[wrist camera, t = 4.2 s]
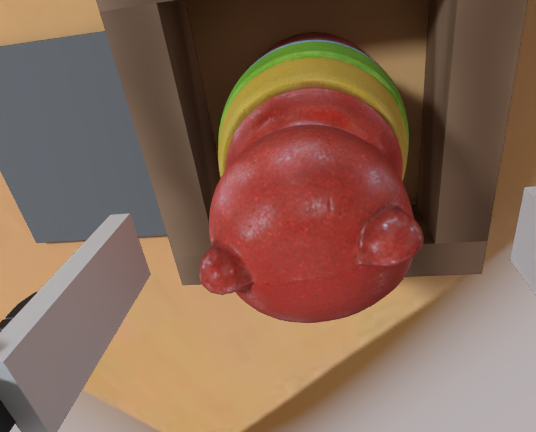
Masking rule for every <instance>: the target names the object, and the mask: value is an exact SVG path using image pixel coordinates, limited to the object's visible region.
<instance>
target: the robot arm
mask: <svg viewBox="0 0 536 432" xmlns="http://www.w3.org/2000/svg"><path fill="white" fill-rule="evenodd" d="M510 261H511V262H512V263H513V265H514V266H515V267H516V269H517V270H518V271H519V272H520V274H521V276H522V277H523V278H524V280H525V281H526V282H527V284H528V285H529V286H530V288H531V289H532V291H533V292H534V293H535V295H536V186H534V187H525V188H524V193H523V198H522V203H521V208H520V213H519V218H518V223H517V228H516V233H515V238H514V243H513V248H512V253H511V258H510ZM150 275H151V274H150V271H149V268H148V265H147V262H146V259H145V256H144V253H143V250H142V247H141V245H140V242H139V239H138V236H137V233H136V230H135V227H134V224H133V221H132V218H131V215H130V213H128V214H113V215H110V216H109V217H108V218H107V219H106V220H105V221H104V222H103V223H102V224H101V225H100V226H99V227H98V228H97V230H96V231H95V232H94V233H93V234H92V235H91V236H90V237H89V238H88V239H87V240H86V241H85V242H84V243H83V244H82V246H81V247H80V248H79V249H78V250H77V251H76V252H75V253H74V254H73V255H72V256H71V257H70V258H69V259H68V260H67V261H66V263H65V264H64V265H63V266H62V267H61V268H60V269H59V270H58V271H57V272H56V273H55V274H54V275H53V276H52V277H51V279H50V280H49V281H48V282H47V283H46V284H45V285H44V286H43V287H42V288H41V289H40V290H39V291H38V292H35V293H33V294H32V295H31V296H29V297H28V298H26V299H25V300H23V301H22V302H20V303H19V304H18V305H17V306H16V307H15V308H14V309H13V310H12V311H11V312H10V313H9V314H8V315H7V316H6V319H5V320H2V321H1V322H0V432H9V431H10V430H11V428H12V427H13V426H14V424H16V425H17V427H18V428H19V429H20V431H21V432H57V431H58V429H59V428H60V426H61V424H62V423H63V421H64V419H65V418H66V416H67V414H68V413H69V411H70V409H71V407H72V406H73V404H74V402H75V401H76V399H77V397H78V395H79V394H80V392H81V391H82V389H83V387H84V386H85V384H86V382H87V381H88V379H89V377H90V375H91V374H92V372H93V370H94V369H95V367H96V365H97V364H98V362H99V360H100V359H101V357H102V355H103V354H104V352H105V350H106V349H107V347H108V345H109V344H110V342H111V340H112V338H113V337H114V335H115V333H116V332H117V330H118V328H119V327H120V325H121V323H122V322H123V320H124V318H125V317H126V315H127V313H128V312H129V310H130V308H131V307H132V305H133V303H134V301H135V300H136V298H137V296H138V295H139V293H140V291H141V290H142V288H143V286H144V285H145V283H146V281H147V280H148V278H149V276H150Z"/></svg>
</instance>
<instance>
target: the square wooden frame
mask: <svg viewBox="0 0 536 432" xmlns="http://www.w3.org/2000/svg"><path fill="white" fill-rule="evenodd" d="M96 1H97V5H98V8H99V11H100V15H101V18H102V21H103V24H104V28H105V31H106V34H107V38H108V41H109V44H110V48H111V51H112V54H113V57H114V61H115V64H116V67H117V71H118V74H119V77H120V81H121V84H122V87H123V90H124V94H125V97H126V100H127V104H128V107H129V110H130V114H131V117H132V120H133V123H134V127H135V130H136V133H137V137H138V140H139V143H140V147H141V150H142V153H143V156H144V160H145V163H146V166H147V170H148V173H149V176H150V180H151V183H152V186H153V189H154V193H155V196H156V199H157V203H158V206H159V209H160V213H161V216H162V219H163V222H164V226H165V229H166V232H167V236H168V239H169V242H170V246H171V249H172V252H173V255H174V259H175V262H176V265H177V269H178V272H179V275H180V279H181V282H182V285H200V284H202V283H201V281H200V263H201V261H202V258H203V256H204V254H205V253H206V252H207V251H208V250H209V249H210V248H211V246H212V245H211V241H210V235H209V215H210V207H211V202H212V198H213V195H214V192H215V189H216V186H217V184H218V182H219V180H220V178H221V177H220V172H219V164H218V157H217V152H216V147H215V142H214V137H213V132H212V127H211V122H210V118H209V113H208V108H207V103H206V98H205V93H204V88H203V84H202V79H201V74H200V69H199V64H198V59H197V54H196V50H195V45H194V40H193V35H192V30H191V25H190V20H189V15H188V11H187V6H186V1H185V0H96ZM527 2H528V0H429V16H428V33H427V49H426V66H425V82H424V98H423V115H422V131H421V148H420V164H419V180H418V197H417V205H413V206H411V208H412V212H413V216H414V220H416V221H417V223H418V224H419V226H420V227H421V228H422V232H423V237H424V240H423V246H422V248H421V249H420V250H419V252H418V253H417V254H416V255H415V256H414V257H413V259H412V262H411V265H410V267H409V269H408V271H407V273H406V274H405V276H404V277H410V276H437V275H463V274H482V269H483V263H484V257H485V251H486V245H487V240H488V234H489V228H490V222H491V216H492V210H493V204H494V198H495V192H496V186H497V180H498V174H499V168H500V162H501V156H502V150H503V145H504V139H505V133H506V127H507V121H508V115H509V109H510V103H511V97H512V91H513V85H514V79H515V73H516V67H517V61H518V55H519V50H520V44H521V38H522V32H523V26H524V20H525V14H526V8H527Z"/></svg>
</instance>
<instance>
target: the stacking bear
mask: <svg viewBox="0 0 536 432" xmlns="http://www.w3.org/2000/svg"><path fill="white" fill-rule="evenodd" d="M408 149H409V129H408V121H407V116H406V111H405V107H404V104H403V101H402V99H401V96H400V94H399V92H398V90H397V88H396V86H395V84H394V83H393V81H392V80H391V79H390V77H389V76H388V75H387V73H386V72H385V71H384V70H383V69H382V68H381V67H380V66H379V65H378V64H377V63H376V62H375V61H373V60H372V59H371V58H370V57H368V56H367V55H366V54H364V52H363V51H361V50H360V49H359V48H358V47H357V46H356V45H354V44H353V43H351V42H349V41H347V40H346V39H343V38H341V37H338V36H335V35H331V34H326V33H305V34H301V35H296V36H293V37H290V38H288V39H285V40H283V41H281V42H280V43H278V44H276V45H275V46H273V47H272V48H270V49H269V50H268V51H267V52H266V53H265V54H264V55H263V56H262V57H261V58H260V59H258V60H257V61H256V62H255V63H254V64H253V65H251V66H250V67H249V68H248V70H247V71H246V72H245V73H244V74H243V75H242V76H241V78H240V79H239V80H238V82H237V83H236V85H235V86H234V88H233V90H232V91H231V93H230V95H229V98H228V100H227V102H226V105H225V108H224V111H223V114H222V118H221V122H220V127H219V137H218V164H219V172H220V177H221V178H220V180H219V182H218V184H217V186H216V189H215V192H214V195H213V198H212V202H211V207H210V215H209V235H210V241H211V245H212V246H211V248H210V249H209V250H208V251H207V252H206V253H205V254H204V256H203V258H202V261H201V263H200V281H201V283H202V285H203V286H204V287H205V288H206V289H207V290H208V291H210V292H212V293H215V294H221V295H223V294H227V293H233V292H236V293H237V295H238V296H239V297H240V298H241V299H242V300H244V301H245V302H246V303H247V304H249V305H250V306H251V307H253V308H254V309H256V310H258V311H259V312H261V313H263V314H265V315H268V316H271V317H274V318H276V319H279V320H284V321H289V322H301V323H316V322H323V321H330V320H335V319H340V318H344V317H347V316H350V315H353V314H356V313H358V312H360V311H362V310H364V309H366V308H368V307H370V306H372V305H374V304H375V303H377V302H378V301H379V300H381V299H382V298H384V297H385V296H386V295H388V294H389V293H390V292H391V291H392V290H393V289H395V288H396V287H397V285H398V284H399V283H400V282H401V281H402V280H403V278H404V276H405V274H406V273H407V271H408V269H409V267H410V265H411V262H412V259H413V257H414V256H415V255H416V254H417V253H418V252H419V250H420V249H421V248H422V246H423V240H424V237H423V232H422V228H421V227H420V226H419V224H418V223H417V221H416V220H414V216H413V212H412V208H411V204H410V201H409V197H408V195H407V192H406V190H405V187H404V185H403V178H404V175H405V170H406V164H407V156H408Z"/></svg>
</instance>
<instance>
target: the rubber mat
mask: <svg viewBox="0 0 536 432" xmlns="http://www.w3.org/2000/svg"><path fill="white" fill-rule="evenodd" d="M0 171H1V173H2V175H3V177H4V179H5V181H6V183H7V185H8V187H9V189H10V191H11V193H12V195H13V197H14V199H15V201H16V203H17V205H18V207H19V209H20V211H21V213H22V215H23V217H24V219H25V221H26V223H27V225H28V227H29V229H30V231H31V233H32V235H33V237H34V239H35V241H36V243H44V242H61V241H78V240H87V239H88V238H89V237H90V236H91V235H92V234H93V233H94V232H95V231H96V230H97V228H98V227H99V226H100V225H101V224H102V223H103V222H104V221H105V220H106V219H107V218H108V217H109V216H110V215H113V214H128V213H130V215H131V218H132V221H133V224H134V227H135V230H136V233H137V236H138V237H146V236H163V235H167V232H166V229H165V226H164V222H163V219H162V216H161V213H160V209H159V206H158V203H157V199H156V196H155V193H154V189H153V186H152V183H151V180H150V176H149V173H148V170H147V166H146V163H145V160H144V156H143V153H142V150H141V147H140V143H139V140H138V137H137V133H136V130H135V127H134V123H133V120H132V117H131V114H130V110H129V107H128V104H127V100H126V97H125V94H124V90H123V87H122V84H121V81H120V77H119V74H118V71H117V67H116V64H115V61H114V57H113V54H112V51H111V48H110V44H109V41H108V38H107V34H106V31H103V32H96V33H89V34H82V35H75V36H69V37H62V38H55V39H48V40H41V41H34V42H28V43H21V44H14V45H7V46H0Z"/></svg>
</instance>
